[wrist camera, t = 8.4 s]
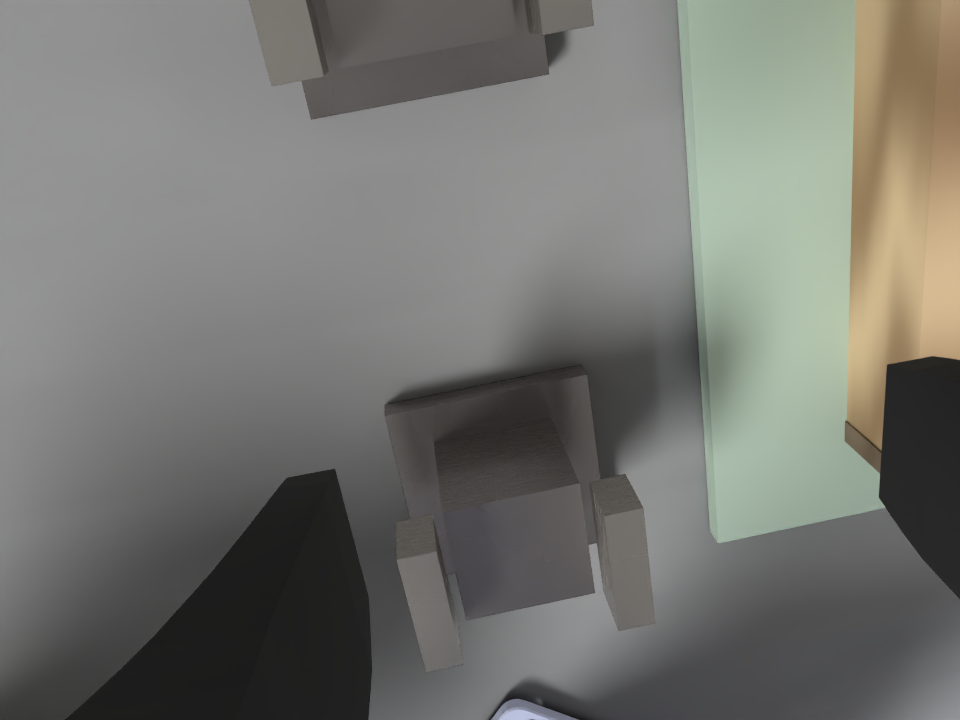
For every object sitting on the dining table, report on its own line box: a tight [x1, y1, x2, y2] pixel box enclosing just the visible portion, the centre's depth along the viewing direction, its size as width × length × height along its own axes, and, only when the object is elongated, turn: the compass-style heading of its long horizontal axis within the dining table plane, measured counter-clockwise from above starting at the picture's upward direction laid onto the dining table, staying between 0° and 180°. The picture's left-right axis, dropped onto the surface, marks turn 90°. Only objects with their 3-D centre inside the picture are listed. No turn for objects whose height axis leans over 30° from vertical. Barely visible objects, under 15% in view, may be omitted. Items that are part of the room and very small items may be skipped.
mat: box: [677, 0, 886, 543], centre depth 18 cm, size 22×10×1 cm, turn 10°
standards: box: [249, 0, 655, 672], centre depth 16 cm, size 17×5×5 cm, turn 10°
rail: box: [844, 0, 960, 473], centre depth 16 cm, size 17×3×3 cm, turn 10°
